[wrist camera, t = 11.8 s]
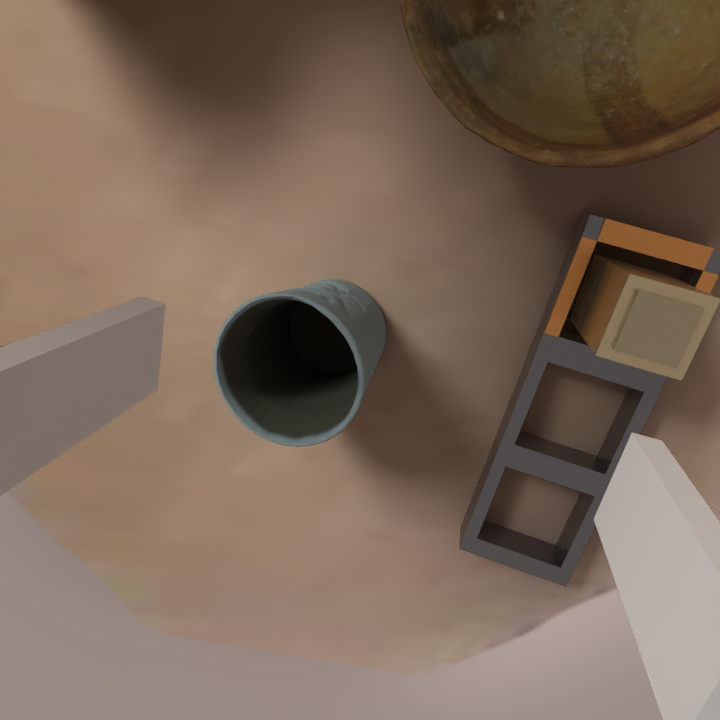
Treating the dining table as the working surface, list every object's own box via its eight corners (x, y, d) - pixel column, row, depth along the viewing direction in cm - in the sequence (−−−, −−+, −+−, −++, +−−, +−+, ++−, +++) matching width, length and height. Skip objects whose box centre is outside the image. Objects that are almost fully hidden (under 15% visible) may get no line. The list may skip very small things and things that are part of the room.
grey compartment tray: (582, 212, 40) (591, 214, 37) (710, 247, 39) (729, 252, 36) (460, 528, 49) (459, 550, 46) (561, 563, 48) (566, 588, 45)
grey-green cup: (386, 395, 47) (357, 459, 36) (273, 377, 48) (211, 433, 37) (399, 275, 44) (371, 305, 32) (278, 261, 45) (211, 284, 34)
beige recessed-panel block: (595, 254, 40) (631, 274, 31) (664, 273, 40) (724, 300, 30) (569, 318, 42) (596, 357, 32) (636, 337, 41) (684, 383, 32)
